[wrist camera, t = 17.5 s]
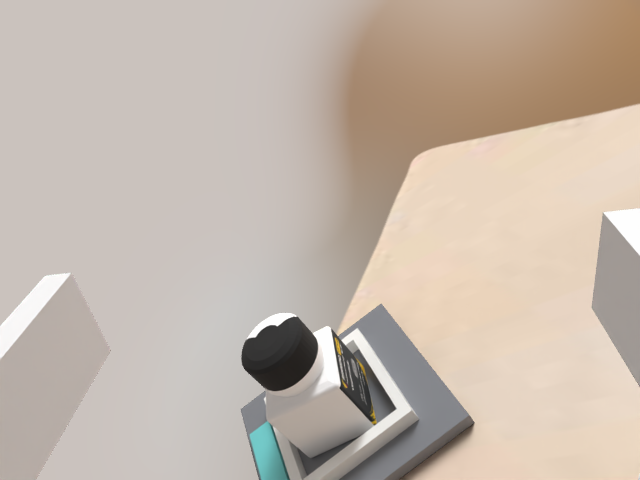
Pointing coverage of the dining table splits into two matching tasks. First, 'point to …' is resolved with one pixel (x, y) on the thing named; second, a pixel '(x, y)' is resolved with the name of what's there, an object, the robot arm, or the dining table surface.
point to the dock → (390, 411)
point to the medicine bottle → (309, 383)
